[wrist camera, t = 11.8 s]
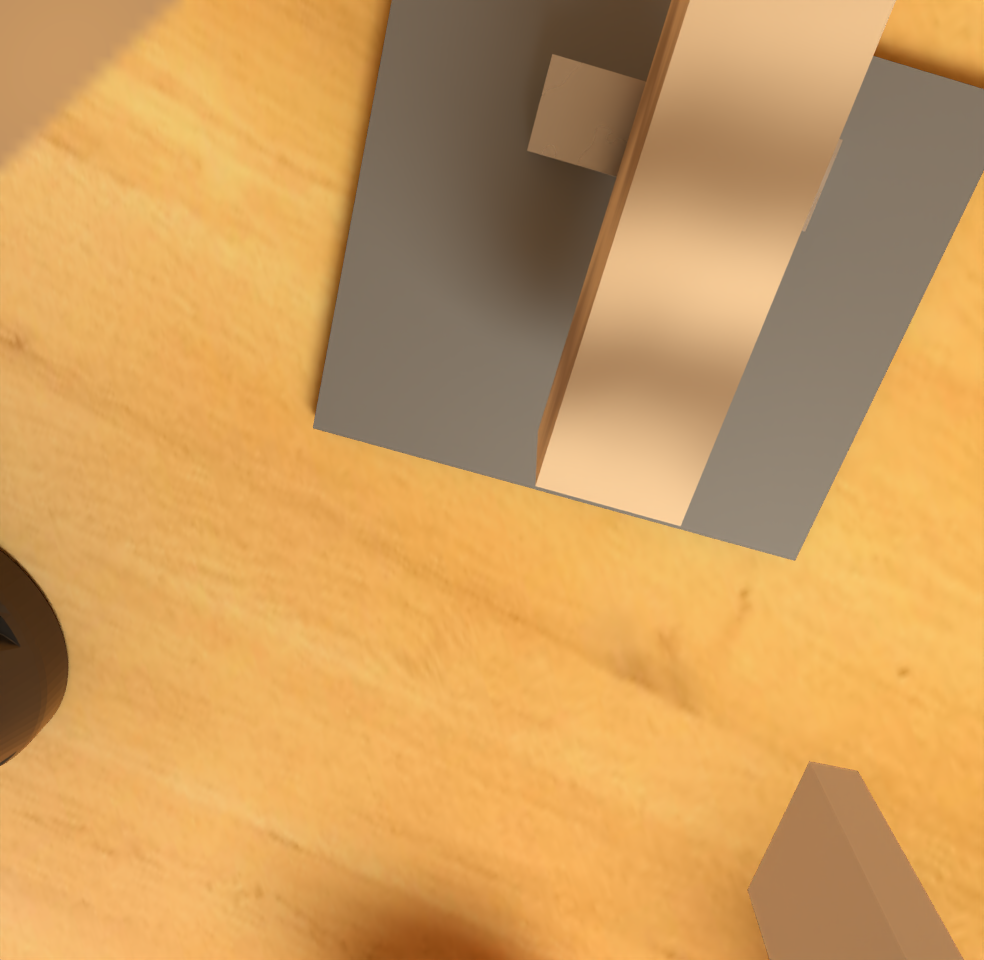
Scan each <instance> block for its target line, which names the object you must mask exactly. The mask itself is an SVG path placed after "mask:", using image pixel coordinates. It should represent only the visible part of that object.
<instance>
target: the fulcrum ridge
mask: <svg viewBox="0 0 984 960" xmlns="http://www.w3.org/2000/svg"><path fill="white" fill-rule="evenodd" d="M645 84H646V82H645V81H642V80H639V79H635V78H632V77H629V76H625V75H622V74H618V73H615V72H612V71H608V70H605V69H601V68H598V67H595V66H591V65H588V64H585V63H581V62H578V61H574V60H571V59H568V58H564V57H561V56H558V55H554V54H552V57H551V61H550V65H549V69H548V73H547V77H546V80H545V84H544V88H543V92H542V96H541V99H540V103H539V107H538V111H537V115H536V119H535V122H534V126H533V130H532V134H531V138H530V141H529V145H528V149H527V151H529V152H532V153H535V154H539V155H542V156H545V157H549V158H552V159H556V160H559V161H563V162H566V163H569V164H573V165H576V166H580V167H583V168H587V169H590V170H593V171H597V172H600V173H604V174H607V175H611V176H614V177H617V174H618V171H619V168H620V165H621V161H622V158H623V155H624V152H625V148H626V145H627V142H628V139H629V136H630V132H631V129H632V126H633V123H634V119H635V116H636V113H637V110H638V107H639V103H640V100H641V97H642V94H643V90H644V87H645ZM842 141H843V140H841V139H839V141H838V143H837V145H836V148H835V150H834V153H833V155H832V158H831V160H830V163H829V165H828V167H827V170H826V172H825V175H824V177H823V180H822V182H821V185H820V187H819V189H818V192H817V194H816V197H815V199H814V202H813V204H812V207H811V209H810V211H809V214H808V216H807V219H806V221H805V224H804V226H803V228H802V231H806V229H807V226H808V224H809V221H810V219H811V217H812V214H813V212H814V209H815V207H816V204H817V202H818V200H819V197H820V195H821V192H822V190H823V187H824V185H825V182H826V180H827V178H828V175H829V173H830V170H831V168H832V165H833V163H834V160H835V158H836V156H837V153H838V151H839V148H840V146H841V143H842Z"/></svg>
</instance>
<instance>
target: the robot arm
mask: <svg viewBox="0 0 984 960" xmlns="http://www.w3.org/2000/svg"><path fill="white" fill-rule="evenodd" d="M67 678H68V658H67V651H66V646H65V642H64V638H63V635H62V632H61V629H60V627H59V624H58V622H57V619H56V617H55V615H54V613H53V611H52V610H51V608H50V606H49V604H48V603H47V601H46V600H45V598H44V597H43V595H42V594H41V592H40V591H39V589H38V588H37V587H36V586H35V584H34V583H33V582H32V581H31V579H30V578H29V577H28V576H27V575H26V574H25V573H24V572H23V571H22V570H21V569H20V568H19V567H18V566H17V565H16V564H15V563H14V562H13V561H12V560H11V559H10V558H9V557H8V556H6V555H5V554H4V553H3V552H1V551H0V766H1V765H3V764H5V763H7V762H8V761H9V760H11V759H12V758H13V757H15V756H16V755H17V754H18V753H20V752H21V751H22V750H23V749H24V748H25V747H26V746H27V745H28V744H29V743H30V742H31V741H32V739H33V738H34V737H35V736H36V735H37V734H38V733H39V732H40V731H41V729H42V728H43V727H44V726H45V725H46V724H47V723H48V722H49V721H50V719H51V718H52V717H53V715H54V714H55V713H56V711H57V709H58V708H59V706H60V704H61V701H62V699H63V696H64V693H65V690H66V685H67ZM748 893H749V896H750V899H751V903H752V906H753V909H754V912H755V915H756V918H757V922H758V925H759V928H760V931H761V934H762V937H763V941H764V944H765V947H766V950H767V953H768V956H769V959H770V960H964V959H963V957H962V956H961V954H960V952H959V950H958V949H957V947H956V945H955V943H954V941H953V940H952V938H951V936H950V934H949V932H948V931H947V929H946V927H945V925H944V924H943V922H942V920H941V918H940V916H939V915H938V913H937V911H936V909H935V908H934V906H933V904H932V902H931V900H930V899H929V897H928V895H927V893H926V891H925V890H924V888H923V886H922V884H921V883H920V881H919V879H918V877H917V875H916V874H915V872H914V870H913V868H912V867H911V865H910V863H909V861H908V859H907V858H906V856H905V854H904V852H903V851H902V849H901V847H900V845H899V843H898V842H897V840H896V838H895V836H894V834H893V833H892V831H891V829H890V827H889V826H888V824H887V822H886V820H885V818H884V817H883V815H882V813H881V811H880V810H879V808H878V806H877V804H876V802H875V801H874V799H873V797H872V795H871V793H870V792H869V790H868V788H867V786H866V785H865V783H864V781H863V779H862V777H861V776H860V774H859V772H858V771H855V770H850V769H845V768H840V767H835V766H830V765H825V764H820V763H815V762H810V761H809V763H808V766H807V768H806V770H805V772H804V774H803V776H802V778H801V780H800V782H799V784H798V786H797V788H796V790H795V792H794V795H793V797H792V799H791V801H790V803H789V805H788V807H787V809H786V811H785V813H784V815H783V817H782V819H781V821H780V824H779V826H778V828H777V830H776V832H775V834H774V836H773V838H772V840H771V842H770V844H769V846H768V848H767V850H766V853H765V855H764V857H763V859H762V861H761V863H760V865H759V867H758V869H757V871H756V873H755V875H754V877H753V880H752V882H751V884H750V886H749V888H748Z"/></svg>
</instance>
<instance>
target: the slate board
mask: <svg viewBox="0 0 984 960" xmlns="http://www.w3.org/2000/svg"><path fill="white" fill-rule="evenodd" d="M670 3H671V0H392V2H391V8H390V13H389V18H388V24H387V29H386V35H385V40H384V45H383V51H382V56H381V62H380V67H379V73H378V78H377V83H376V89H375V94H374V100H373V105H372V111H371V116H370V121H369V127H368V132H367V138H366V143H365V148H364V154H363V159H362V165H361V170H360V176H359V181H358V186H357V192H356V197H355V203H354V208H353V213H352V219H351V224H350V230H349V235H348V241H347V246H346V251H345V257H344V262H343V268H342V273H341V279H340V284H339V289H338V295H337V300H336V306H335V311H334V316H333V322H332V327H331V333H330V338H329V344H328V349H327V354H326V360H325V365H324V371H323V376H322V381H321V387H320V392H319V398H318V403H317V409H316V414H315V419H314V425H313V428H314V429H318V430H322V431H325V432H329V433H333V434H336V435H340V436H343V437H347V438H351V439H354V440H358V441H362V442H365V443H369V444H373V445H376V446H380V447H383V448H387V449H391V450H394V451H398V452H402V453H405V454H409V455H413V456H416V457H420V458H423V459H427V460H431V461H434V462H438V463H442V464H445V465H449V466H452V467H456V468H460V469H463V470H467V471H471V472H474V473H478V474H482V475H485V476H489V477H492V478H496V479H500V480H503V481H507V482H511V483H514V484H518V485H522V486H525V487H529V488H532V489H536V490H540V491H543V492H547V493H551V494H554V495H558V496H562V497H565V498H569V499H572V500H576V501H580V502H583V503H587V504H591V505H594V506H598V507H602V508H605V509H609V510H612V511H616V512H620V513H623V514H627V515H631V516H634V517H638V518H642V519H645V520H649V521H652V522H656V523H660V524H663V525H667V526H671V527H674V528H678V529H682V530H685V531H689V532H692V533H696V534H700V535H703V536H707V537H711V538H714V539H718V540H721V541H725V542H729V543H732V544H736V545H740V546H743V547H747V548H751V549H754V550H758V551H761V552H765V553H769V554H772V555H776V556H780V557H783V558H787V559H791V560H794V561H795V560H796V558H797V556H798V553H799V551H800V549H801V547H802V545H803V543H804V541H805V539H806V537H807V535H808V533H809V531H810V529H811V527H812V525H813V522H814V520H815V518H816V516H817V514H818V512H819V510H820V508H821V506H822V504H823V502H824V500H825V498H826V496H827V494H828V491H829V489H830V487H831V485H832V483H833V481H834V479H835V477H836V475H837V473H838V471H839V469H840V467H841V465H842V463H843V460H844V458H845V456H846V454H847V452H848V450H849V448H850V446H851V444H852V442H853V440H854V438H855V436H856V434H857V432H858V429H859V427H860V425H861V423H862V421H863V419H864V417H865V415H866V413H867V411H868V409H869V407H870V405H871V403H872V401H873V398H874V396H875V394H876V392H877V390H878V388H879V386H880V384H881V382H882V380H883V378H884V376H885V374H886V372H887V370H888V367H889V365H890V363H891V361H892V359H893V357H894V355H895V353H896V351H897V349H898V347H899V345H900V343H901V341H902V339H903V336H904V334H905V332H906V330H907V328H908V326H909V324H910V322H911V320H912V318H913V316H914V314H915V312H916V310H917V307H918V305H919V303H920V301H921V299H922V297H923V295H924V293H925V291H926V289H927V287H928V285H929V283H930V281H931V279H932V276H933V274H934V272H935V270H936V268H937V266H938V264H939V262H940V260H941V258H942V256H943V254H944V252H945V250H946V248H947V245H948V243H949V241H950V239H951V237H952V235H953V233H954V231H955V229H956V227H957V225H958V223H959V221H960V219H961V217H962V214H963V212H964V210H965V208H966V206H967V204H968V202H969V200H970V198H971V196H972V194H973V192H974V190H975V188H976V186H977V183H978V181H979V179H980V177H981V175H982V173H983V171H984V89H982V88H978V87H975V86H972V85H968V84H965V83H962V82H958V81H955V80H952V79H949V78H945V77H942V76H939V75H935V74H932V73H929V72H925V71H922V70H919V69H915V68H912V67H909V66H905V65H902V64H899V63H895V62H892V61H889V60H885V59H882V58H879V57H875V56H873V58H872V60H871V62H870V65H869V67H868V70H867V72H866V75H865V77H864V80H863V82H862V84H861V87H860V89H859V92H858V94H857V97H856V99H855V102H854V104H853V106H852V109H851V111H850V114H849V116H848V119H847V121H846V124H845V126H844V128H843V131H842V133H841V136H840V138H839V139H841V140H843V141H842V143H841V146H840V148H839V151H838V153H837V156H836V158H835V160H834V163H833V165H832V168H831V170H830V173H829V175H828V178H827V180H826V182H825V185H824V187H823V190H822V192H821V195H820V197H819V200H818V202H817V204H816V207H815V209H814V212H813V214H812V217H811V219H810V221H809V224H808V226H807V229H806V231H801V233H800V236H799V238H798V241H797V243H796V246H795V248H794V250H793V253H792V255H791V258H790V260H789V263H788V265H787V268H786V270H785V272H784V275H783V277H782V280H781V282H780V285H779V287H778V290H777V292H776V294H775V297H774V299H773V302H772V304H771V307H770V309H769V312H768V314H767V316H766V319H765V321H764V324H763V326H762V329H761V331H760V333H759V336H758V338H757V341H756V343H755V346H754V348H753V351H752V353H751V355H750V358H749V360H748V363H747V365H746V368H745V370H744V373H743V375H742V377H741V380H740V382H739V385H738V387H737V390H736V392H735V395H734V397H733V399H732V402H731V404H730V407H729V409H728V412H727V414H726V416H725V419H724V421H723V424H722V426H721V429H720V431H719V434H718V436H717V438H716V441H715V443H714V446H713V448H712V451H711V453H710V456H709V458H708V460H707V463H706V465H705V468H704V470H703V473H702V475H701V478H700V480H699V482H698V485H697V487H696V490H695V492H694V495H693V497H692V500H691V502H690V504H689V507H688V509H687V512H686V514H685V517H684V519H683V521H682V524H681V526H678V525H674V524H670V523H667V522H663V521H660V520H656V519H652V518H649V517H645V516H642V515H638V514H634V513H631V512H627V511H623V510H620V509H616V508H613V507H609V506H605V505H602V504H598V503H595V502H591V501H587V500H584V499H580V498H576V497H573V496H569V495H566V494H562V493H558V492H555V491H551V490H548V489H544V488H540V487H537V486H535V484H536V463H537V442H538V429H539V426H540V423H541V420H542V416H543V413H544V410H545V407H546V403H547V400H548V397H549V394H550V390H551V387H552V384H553V381H554V378H555V374H556V371H557V368H558V365H559V361H560V358H561V355H562V352H563V349H564V345H565V342H566V339H567V336H568V332H569V329H570V326H571V323H572V319H573V316H574V313H575V310H576V307H577V303H578V300H579V297H580V294H581V290H582V287H583V284H584V281H585V278H586V274H587V271H588V268H589V265H590V261H591V258H592V255H593V252H594V248H595V245H596V242H597V239H598V236H599V232H600V229H601V226H602V223H603V219H604V216H605V213H606V210H607V207H608V203H609V200H610V197H611V194H612V190H613V187H614V184H615V181H616V178H617V177H614V176H611V175H607V174H604V173H600V172H597V171H593V170H590V169H587V168H583V167H580V166H576V165H573V164H569V163H566V162H563V161H559V160H556V159H552V158H549V157H545V156H542V155H539V154H535V153H532V152H529V151H527V149H528V145H529V141H530V138H531V134H532V130H533V126H534V122H535V119H536V115H537V111H538V107H539V103H540V99H541V96H542V92H543V88H544V84H545V80H546V77H547V73H548V69H549V65H550V61H551V57H552V54H554V55H558V56H561V57H564V58H568V59H571V60H574V61H578V62H581V63H585V64H588V65H591V66H595V67H598V68H601V69H605V70H608V71H612V72H615V73H618V74H622V75H625V76H629V77H632V78H635V79H639V80H642V81H645V82H646V81H647V77H648V74H649V71H650V68H651V65H652V61H653V58H654V55H655V52H656V48H657V45H658V42H659V39H660V36H661V32H662V29H663V26H664V23H665V19H666V16H667V13H668V10H669V6H670Z"/></svg>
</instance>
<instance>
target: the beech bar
mask: <svg viewBox="0 0 984 960" xmlns="http://www.w3.org/2000/svg"><path fill="white" fill-rule="evenodd" d="M895 1H896V0H671V3H670V6H669V10H668V13H667V16H666V19H665V23H664V26H663V29H662V32H661V36H660V39H659V42H658V45H657V48H656V52H655V55H654V58H653V61H652V65H651V68H650V71H649V74H648V77H647V81H646V84H645V87H644V90H643V94H642V97H641V100H640V103H639V107H638V110H637V113H636V116H635V119H634V123H633V126H632V129H631V132H630V136H629V139H628V142H627V145H626V148H625V152H624V155H623V158H622V161H621V165H620V168H619V171H618V174H617V178H616V181H615V184H614V187H613V190H612V194H611V197H610V200H609V203H608V207H607V210H606V213H605V216H604V219H603V223H602V226H601V229H600V232H599V236H598V239H597V242H596V245H595V248H594V252H593V255H592V258H591V261H590V265H589V268H588V271H587V274H586V278H585V281H584V284H583V287H582V290H581V294H580V297H579V300H578V303H577V307H576V310H575V313H574V316H573V319H572V323H571V326H570V329H569V332H568V336H567V339H566V342H565V345H564V349H563V352H562V355H561V358H560V361H559V365H558V368H557V371H556V374H555V378H554V381H553V384H552V387H551V390H550V394H549V397H548V400H547V403H546V407H545V410H544V413H543V416H542V420H541V423H540V426H539V429H538V442H537V463H536V484H535V486H537V487H540V488H544V489H548V490H551V491H555V492H558V493H562V494H566V495H569V496H573V497H576V498H580V499H584V500H587V501H591V502H595V503H598V504H602V505H605V506H609V507H613V508H616V509H620V510H623V511H627V512H631V513H634V514H638V515H642V516H645V517H649V518H652V519H656V520H660V521H663V522H667V523H670V524H674V525H678V526H681V524H682V521H683V519H684V517H685V514H686V512H687V509H688V507H689V504H690V502H691V500H692V497H693V495H694V492H695V490H696V487H697V485H698V482H699V480H700V478H701V475H702V473H703V470H704V468H705V465H706V463H707V460H708V458H709V456H710V453H711V451H712V448H713V446H714V443H715V441H716V438H717V436H718V434H719V431H720V429H721V426H722V424H723V421H724V419H725V416H726V414H727V412H728V409H729V407H730V404H731V402H732V399H733V397H734V395H735V392H736V390H737V387H738V385H739V382H740V380H741V377H742V375H743V373H744V370H745V368H746V365H747V363H748V360H749V358H750V355H751V353H752V351H753V348H754V346H755V343H756V341H757V338H758V336H759V333H760V331H761V329H762V326H763V324H764V321H765V319H766V316H767V314H768V312H769V309H770V307H771V304H772V302H773V299H774V297H775V294H776V292H777V290H778V287H779V285H780V282H781V280H782V277H783V275H784V272H785V270H786V268H787V265H788V263H789V260H790V258H791V255H792V253H793V250H794V248H795V246H796V243H797V241H798V238H799V236H800V233H801V231H802V228H803V226H804V224H805V221H806V219H807V216H808V214H809V211H810V209H811V207H812V204H813V202H814V199H815V197H816V194H817V192H818V189H819V187H820V185H821V182H822V180H823V177H824V175H825V172H826V170H827V167H828V165H829V163H830V160H831V158H832V155H833V153H834V150H835V148H836V145H837V143H838V141H839V138H840V136H841V133H842V131H843V128H844V126H845V124H846V121H847V119H848V116H849V114H850V111H851V109H852V106H853V104H854V102H855V99H856V97H857V94H858V92H859V89H860V87H861V84H862V82H863V80H864V77H865V75H866V72H867V70H868V67H869V65H870V62H871V60H872V58H873V55H874V53H875V50H876V48H877V45H878V43H879V40H880V38H881V36H882V33H883V31H884V28H885V26H886V23H887V21H888V19H889V16H890V14H891V11H892V9H893V6H894V4H895Z"/></svg>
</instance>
